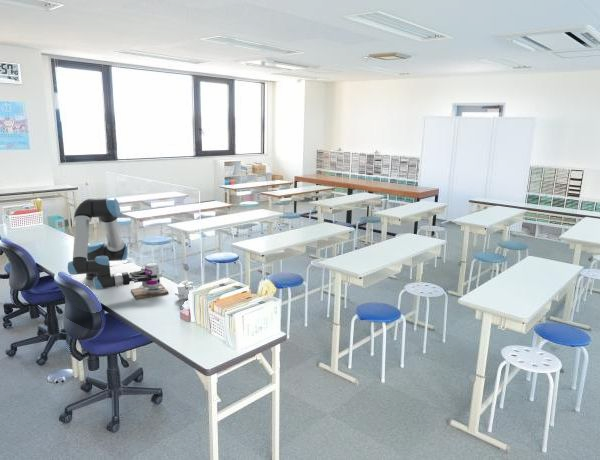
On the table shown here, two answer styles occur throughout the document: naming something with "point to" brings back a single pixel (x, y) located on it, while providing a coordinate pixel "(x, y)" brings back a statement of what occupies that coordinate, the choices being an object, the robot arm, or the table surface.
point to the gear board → (148, 292)
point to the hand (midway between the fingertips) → (159, 272)
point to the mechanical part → (184, 289)
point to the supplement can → (152, 269)
